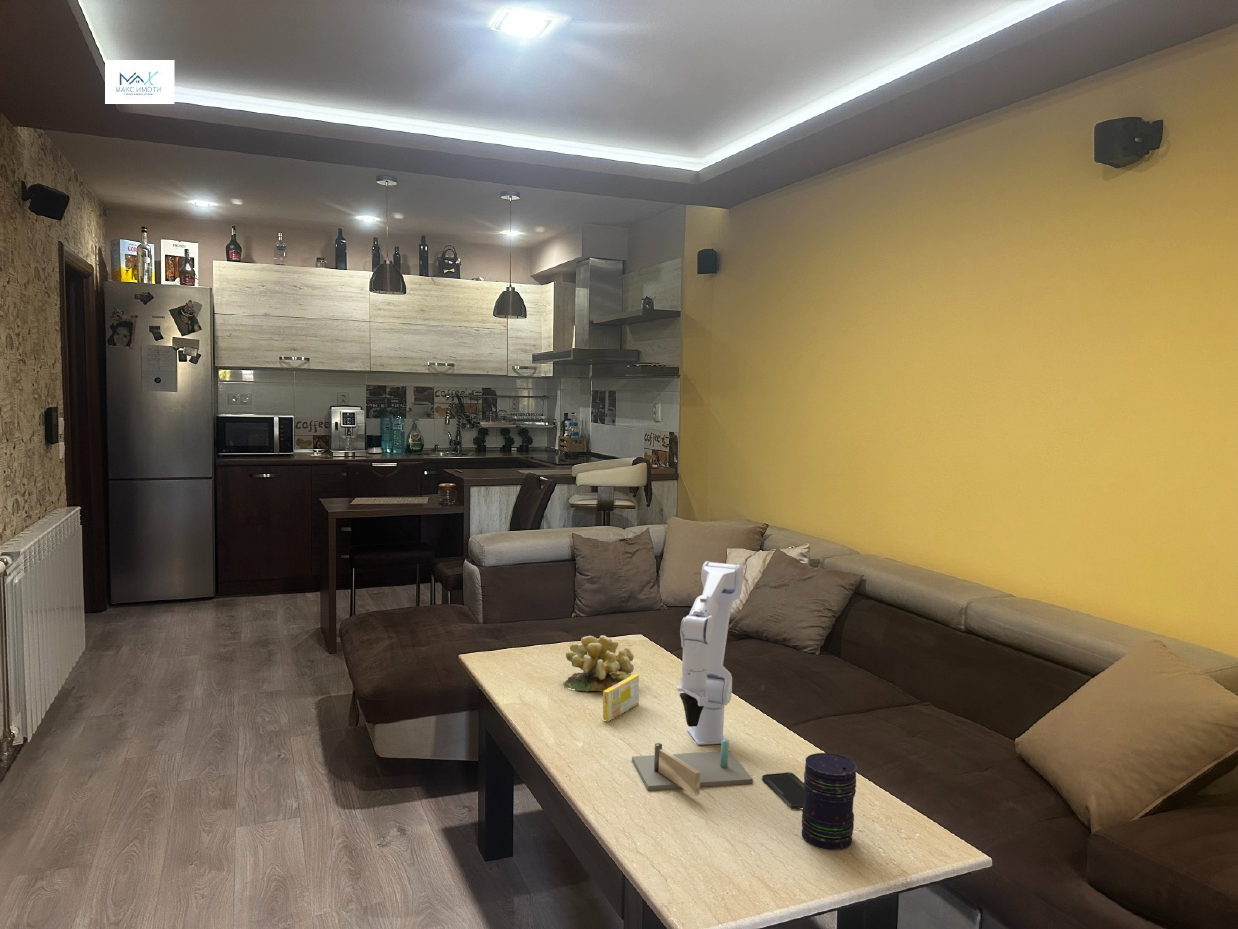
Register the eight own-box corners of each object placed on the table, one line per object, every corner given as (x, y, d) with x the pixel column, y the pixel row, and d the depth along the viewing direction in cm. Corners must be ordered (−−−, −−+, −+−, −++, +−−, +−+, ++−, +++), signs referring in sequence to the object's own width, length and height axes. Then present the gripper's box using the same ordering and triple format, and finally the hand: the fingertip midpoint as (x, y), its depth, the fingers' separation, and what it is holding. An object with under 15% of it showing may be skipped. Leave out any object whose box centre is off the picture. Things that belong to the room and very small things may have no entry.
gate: (662, 770, 188) (663, 748, 187) (699, 795, 177) (700, 772, 176) (658, 771, 187) (659, 749, 187) (694, 796, 176) (695, 773, 176)
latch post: (719, 769, 193) (720, 739, 192) (725, 769, 193) (727, 739, 192) (721, 772, 191) (722, 742, 191) (728, 772, 191) (729, 742, 191)
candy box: (632, 702, 233) (633, 673, 233) (639, 704, 232) (640, 675, 231) (601, 721, 219) (602, 690, 219) (608, 723, 218) (609, 691, 218)
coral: (550, 681, 254) (546, 635, 251) (620, 664, 262) (617, 620, 259) (570, 708, 237) (566, 659, 234) (644, 690, 245) (641, 642, 242)
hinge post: (653, 773, 189) (654, 743, 189) (659, 773, 190) (661, 743, 189) (654, 776, 188) (656, 746, 187) (661, 776, 188) (662, 746, 188)
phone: (791, 772, 191) (825, 802, 177) (791, 776, 191) (824, 808, 177) (760, 775, 189) (791, 806, 174) (759, 780, 189) (791, 812, 175)
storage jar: (790, 836, 164) (794, 762, 163) (818, 819, 171) (822, 748, 170) (835, 857, 157) (840, 779, 156) (862, 839, 164) (866, 765, 163)
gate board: (631, 760, 196) (632, 756, 196) (729, 754, 201) (729, 750, 201) (647, 790, 181) (647, 786, 181) (752, 783, 186) (752, 779, 186)
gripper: (669, 658, 199) (667, 714, 200) (687, 679, 185) (684, 739, 186) (697, 657, 200) (695, 713, 201) (717, 677, 186) (714, 737, 187)
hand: (692, 725), depth 194 cm, fingers closed
